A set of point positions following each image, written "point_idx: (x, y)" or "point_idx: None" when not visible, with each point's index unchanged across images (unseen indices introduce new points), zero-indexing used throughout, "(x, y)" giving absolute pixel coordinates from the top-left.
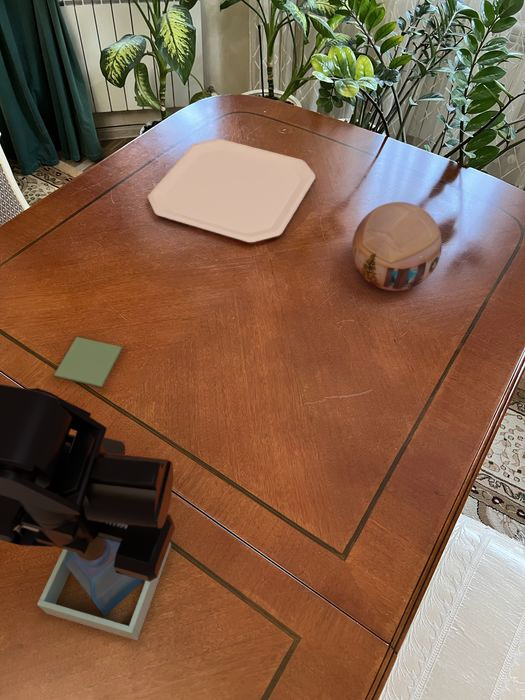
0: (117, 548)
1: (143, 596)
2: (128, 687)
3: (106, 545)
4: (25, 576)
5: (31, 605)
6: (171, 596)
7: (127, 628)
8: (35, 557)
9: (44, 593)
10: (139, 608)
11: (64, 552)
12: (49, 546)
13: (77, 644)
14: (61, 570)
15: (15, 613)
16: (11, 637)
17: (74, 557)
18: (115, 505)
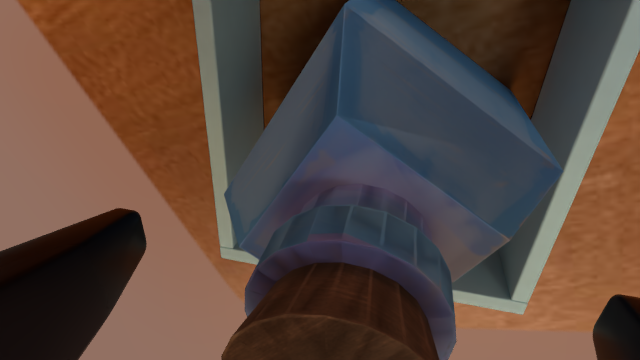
0: (468, 195)
1: (556, 226)
2: (495, 319)
3: (436, 311)
4: (160, 131)
5: (213, 191)
6: (609, 133)
7: (507, 306)
8: (153, 81)
9: (224, 233)
10: (543, 259)
11: (214, 115)
12: (103, 322)
13: None
14: (236, 152)
15: (191, 208)
16: (211, 248)
17: (259, 257)
18: None
